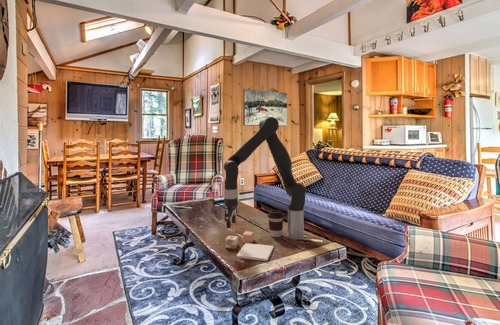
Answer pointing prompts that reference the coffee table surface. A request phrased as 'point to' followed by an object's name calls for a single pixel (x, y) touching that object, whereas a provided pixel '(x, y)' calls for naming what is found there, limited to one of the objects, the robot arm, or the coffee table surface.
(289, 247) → the coffee table surface
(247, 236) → the terracotta block
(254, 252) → the base plate
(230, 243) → the maple block
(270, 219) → the coffee cup
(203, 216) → the coffee table surface
